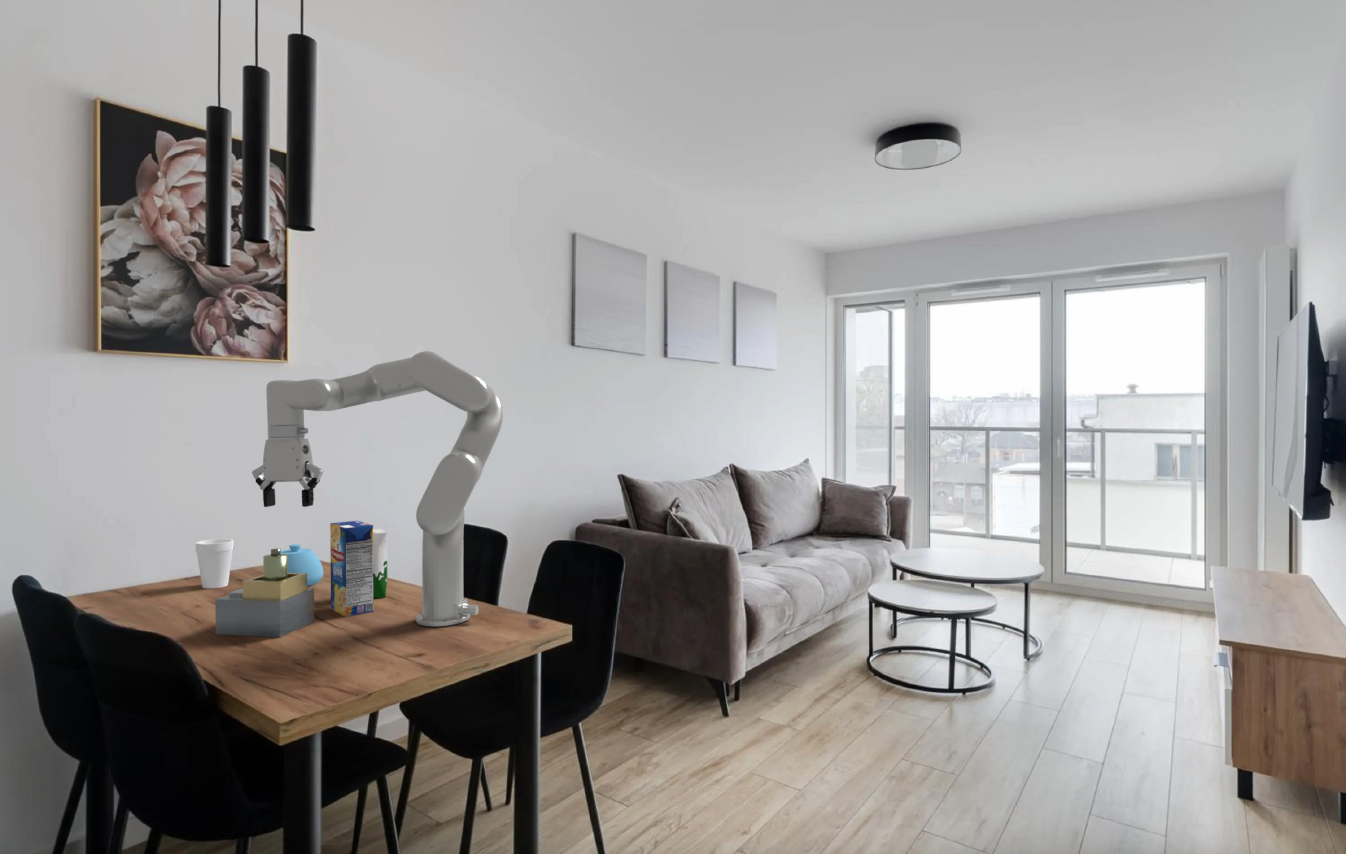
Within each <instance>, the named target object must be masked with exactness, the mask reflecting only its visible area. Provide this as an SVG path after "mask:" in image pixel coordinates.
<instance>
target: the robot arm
mask: <svg viewBox="0 0 1346 854" xmlns="http://www.w3.org/2000/svg"><path fill="white" fill-rule="evenodd" d="M425 391H426V392H428V393H430V394H431V395H433V396H436V397H437V398H439V399H441V400H442V401H445V402H446V403H448V404H450V405H452V406H454V407H456V409H457V408H458V409H459V410H462V411H464V412H466V415H467V417H466V420H465V423H464V424H463V427H462V428H461V430H460V433H459V435H458V437H457V439H456V441H455V443H454V445H453V447H452V449H451V451H450V452H449V453H448V454H446V455H445V456H444V457H443V458H442V459H441V460H440V462H439V463H438V465H437V467H436V469H435V470H434V472H433V475H432V476H431V479H430V481H429V483H428V485H427V487H426V489H425V491H424V493H423V495H422V497H421V499H420V501H419V503H418V506H417V508H416V512H415V513H416V514H415V518H416V522H417V525H418V527H419V528H420V529H421V530H422V550H421V551H422V554H421V555H422V556H421V560H422V562H421V564H422V565H421V566H422V568H421V569H422V570H421V571H422V572H421V575H422V576H421V577H422V578H421V580H422V581H421V582H422V583H421V584H422V586H421V587H422V590H421V591H422V592H421V593H422V598H421V599H422V607H421V608H422V609H421V610H422V612H420V613H418V614H417V615H416V616H415V623H417V625H420V626H422V627H423V626H424V627H447V626H453V625H458V624H462V623H464V622H466V621H468V620H470V617H471V615H475V616H477V615H478V614H479V612H480V611H479V610H480V609H479V606H478V604H469V603H468V598H464V535H465V534H464V532H465V531H464V529H465V528H464V527H465V506H467V505H466V504H467V503H468V500H469V499H470V497H471V495H472V492H473V490H474V489H475V486H476V484H477V483H478V482H479V480H480V479H481V476H482V472H483V469H484V467H485V466H486V463H487V461H488V459H489V456H490V454H491V452H492V450H493V448H494V446H495V443H496V441H497V438H498V436H499V434H500V431H501V428H502V424H503V417H504V416H503V406H502V404H501V400H500V398H499V396H498V395H497V393H496V391H495V390H494V389H493V387H491V385H490V384H489V383H488V382H487V381H486V380H484V379H482V378H480V377H478V376H476V375H475V374H473V373H471V372H469V371H466V370H465V369H463V368H461V367H459V366H458V365H456V364H454V363H452V362H450V361H448V360H447V359H445V358H444V357H443V356H441V355H440V354H438V353H435V352H433V351H427V350H425V351H420V352H418V353H416V354H414V355H412V356H411V357H407V358H403V359H402V358H401V359H397V360H393V361H388V362H383V363H378V364H375V365H372V366H371V367H370V368H368V369H367V370H364V371H362V372H360V373H356V374H352V375H348V376H343V377H339V378H333V379H321V378H310V379H309V378H308V379H303V380H292V379H291V380H288V379H286V380H285V379H284V380H283V379H281V380H280V379H279V380H277V379H276V380H271V381H268V383H267V384H266V392H265V393H266V414H267V415H266V419H267V439H265V443H264V446H263V447H264V448H263V458H262V465H261V466H259V467H257V468H255V469H253V470H252V472H251V474H252V476H253V478H254V480H255V483H256V484H257V485H258V486H259V488H260V490H261V491H262V501H263V508H264V507H265V508H270V507H274V506H275V505H276V488H273V487H274V486H275V485H276V483H277V482H279V483H285V482H286V483H289V482H294V483H295V482H297V483H299V484H300V485H301V486H302V488H303V489H301V507H303V508H307V507H310V506H311V507H312V506H314V501H315V500H314V496H315V495H314V489H315V488H316V487H317V485H318V484H319V483H320V481H321V478H322V476H323V474H324V470H323V469H322V468H320V467H319V466H316V465H314V460H313V453H312V449H311V445H310V442H309V438H305V434H306V435H307V434H308V433H309V428H308V427H305V417H304V416H305V412H304V410H305V411H312V412H313V411H314V412H332V411H336V410H341V409H346V408H351V407H356V406H360V405H365V404H367V403H373V402H381V401H384V400H385V401H386V400H388V399H393V398H398V397H401V396H406V395H407V396H408V395H411V394H415V393H420V392H425Z"/></svg>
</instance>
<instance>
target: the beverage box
mask: <svg viewBox="0 0 1346 854" xmlns="http://www.w3.org/2000/svg"><path fill="white" fill-rule="evenodd" d="M329 525H330V527H329V529H330V533H329V534H330V539H329V540H330V547H329V548H330V609H331V610H334V611H335V612H337V613H339V614H340V615H341V616H343V617H345V618H348V617H351V616H358V615H363V614H368V613H374V610H375V609H374V608H375V607H374V603H375V601H374V600H375V599H374V582H373V529H374V524H369V523H367V522H364V521H361V520H352V521H351V520H350V521H341V522H340V521H339V522H331V523H329Z"/></svg>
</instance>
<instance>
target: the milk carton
mask: <svg viewBox="0 0 1346 854" xmlns="http://www.w3.org/2000/svg"><path fill="white" fill-rule="evenodd" d="M387 533H388V532H387V531H385V530H384V529H382V528H373V582H374V600H375V599H382V598H386V597H387V596H386V595H387V585H388V584H387V583H388V535H387Z"/></svg>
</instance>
